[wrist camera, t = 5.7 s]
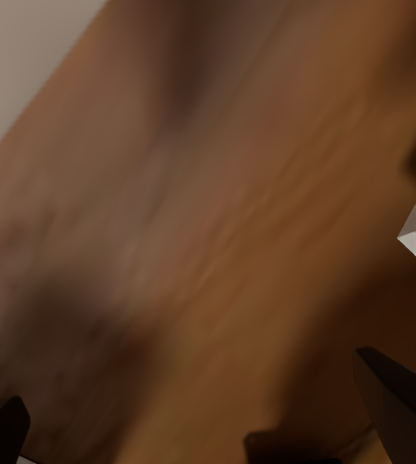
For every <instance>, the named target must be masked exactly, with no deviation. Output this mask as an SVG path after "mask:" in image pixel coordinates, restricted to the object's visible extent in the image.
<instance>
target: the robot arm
mask: <svg viewBox="0 0 416 464" xmlns="http://www.w3.org/2000/svg"><path fill="white" fill-rule="evenodd" d="M353 372H354V378H355V382H356V384H357V387H358V389H359V391H360V394H361V396H362V398H363V401H364V403H365V405H366V408H367V410H368V412H369V415H370V417H371V419H372V422H373V424H374V426H375V428H376V431H377V433H378V435H379V438H380V440H381V442H382V444H383V447H384V448H385V450H386V452H387V454H388V456H389V458H390V460H391V462H392V463H393V464H416V373H415V372H414V371H412V370H410V369H408V368H407V367H405V366H403V365H402V364H400V363H398V362H397V361H395V360H393V359H392V358H390V357H388V356H387V355H385V354H383V353H381V352H380V351H378V350H376V349H375V348H373V347H371V346H364V347H356V348H354V349H353ZM29 427H30V415H29V413H28V411H27V409H26V407H25V405H24V403H23V400H22V398H21V397H20V396H18V395H13V396H5V397H2V398H0V464H16V463H17V460H18V458H19V455H20V452H21V449H22V447H23V444H24V441H25V438H26V436H27V433H28V430H29ZM291 464H343V463H342V461H341V460H340V459H337V458H332V459H324V460H315V461H307V462H299V463H291Z"/></svg>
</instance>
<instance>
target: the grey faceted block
mask: <svg viewBox="0 0 416 464" xmlns="http://www.w3.org/2000/svg"><path fill="white" fill-rule="evenodd" d="M397 239H399V240H400V241H401V242H402V243H403V244H404V245H405V246H406V247H407V248H408V249H409V250H410V251H411V252H412V253H413V254H414V255H415V256H416V204H415V205H414V207H413V209H412V211H411V213H410V215H409V217H408V218H407V220H406V222H405V224H404V226H403V228H402V230H401V231H400V233H399V235H398V237H397Z"/></svg>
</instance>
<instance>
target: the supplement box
mask: <svg viewBox="0 0 416 464" xmlns="http://www.w3.org/2000/svg"><path fill="white" fill-rule="evenodd" d="M16 464H36V463H34V462H31V461H29V460H27V459H25V458H23V457H21V456H19V458H18V460H17V463H16Z"/></svg>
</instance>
